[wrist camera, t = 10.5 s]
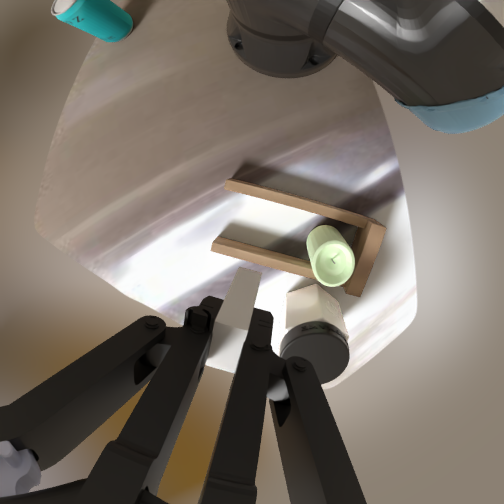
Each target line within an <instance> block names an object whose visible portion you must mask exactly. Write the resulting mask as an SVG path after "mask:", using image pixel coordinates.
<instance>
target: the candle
mask: <svg viewBox="0 0 504 504" xmlns="http://www.w3.org/2000/svg"><path fill="white" fill-rule="evenodd" d="M306 244H307V250H308V254H309V258H310V262H311V266H312V270H313V273H314V275H315V277H316V278H317V280H318V281H319V282H320V283H322V284H323V285H326V286H330V287H335V286H339V285H341V284H343V283H345V282H346V281H347V280H348V279H349V278H350V276H351V275H352V273H353V270H354V266H355V257H354V254H353V251H352V250H351V248H350V247H349V245H348V244H347V242H346V241H345V240H344V238H343V237H342V235H341V234H340V232H339V231H338V230H337V229H336V228H335V227H332V226H329V225H321V226H318V227H316V228H315V229H313V230H312V231H311V232H310V234H309V235H308V238H307V242H306Z"/></svg>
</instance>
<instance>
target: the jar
mask: <svg viewBox="0 0 504 504" xmlns="http://www.w3.org/2000/svg"><path fill="white" fill-rule="evenodd" d="M348 338H349V335H348V332H347V329H346V325H345V322H344V319H343V316H342V312H341V309H340V306H339V303H338V301H337V300H336V299H335V298H333V297H332V296H331V295H330V294H329V293H327V292H326V291H325V290H324V289H322V288H321V287H320V286H319V285H317V284H313V285H310V286H307V287H304V288H301V289H298V290H295V291H292V292H289V293H287V294H286V297H285V301H284V306H283V311H282V315H281V322H280V337H279V352H278V356H279V357H281V358H283V359H285V360H287V359H288V358H290V357H292V356H298V357H303V358H305V359H307V360H308V361H309V362H311V363H312V365H313V367H314V369H315V372H316V374H317V377H318V379H319V382H320V384H325V383H327V382H330V381H332V380H334V379H335V378H337V377H338V376H339V375H340V374H341V373H342V372H343V371H344V370H345V369H346V367H347V365H348V362H349V347H348V343H347V341H348Z"/></svg>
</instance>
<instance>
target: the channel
mask: <svg viewBox="0 0 504 504" xmlns="http://www.w3.org/2000/svg"><path fill="white" fill-rule="evenodd" d="M224 189H226V190H230V191H234V192H238V193H242V194H246V195H250V196H254V197H258V198H261V199H265V200H269V201H273V202H276V203H280V204H284V205H287V206H291V207H294V208H298V209H302V210H305V211H308V212H312V213H315V214H319V215H322V216H326V217H329V218H332V219H335V220H339V221H342V222H345V223H348V224H352V225H355V226H358V228H357V231H356V234H355V237H354V240H353V243H352V246H351V250H352V251H353V254H354V257H355V266H354V270H353V273H352V275H351V276H350V278H349V279H348V280H347V281H346V282H345V283H343V284H341V285H339V286H342V287H344V290H345V292H346V294H349V295H353V296H357V297H360V296H361V294H362V291H363V289H364V286H365V284H366V282H367V279H368V277H369V274H370V272H371V269H372V267H373V264H374V261H375V259H376V256H377V254H378V251H379V248H380V245H381V243H382V240H383V237H384V234H385V231H386V227H384V226H383V225H382V224H380V223H379V222H378V221H376V220H375V219H372V218H369V217H366V216H363V215H360V214H357V213H354V212H351V211H348V210H344V209H341V208H338V207H335V206H332V205H328V204H325V203H322V202H318V201H315V200H312V199H308V198H305V197H301V196H298V195H294V194H291V193H287V192H283V191H280V190H276V189H272V188H268V187H264V186H261V185H257V184H253V183H249V182H245V181H241V180H237V179H232V178H230V179H227V180H226V183H225V187H224ZM211 251H213V252H216V253H220V254H223V255H227V256H231V257H234V258H238V259H242V260H245V261H249V262H252V263H256V264H260V265H263V266H267V267H271V268H275V269H278V270H282V271H286V272H289V273H293V274H297V275H300V276H304V277H308V278H312V279H315V280H317V278H316V277H315V275H314V273H313V270H312V266H311V262H310V261H307V260H303V259H300V258H296V257H292V256H289V255H285V254H281V253H278V252H274V251H270V250H267V249H263V248H259V247H256V246H252V245H248V244H245V243H241V242H237V241H233V240H230V239H226V238H222V237H219V236H218V237H217V238H216V239H215V240H214V241H213V243H212V247H211Z"/></svg>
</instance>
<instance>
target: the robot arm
mask: <svg viewBox="0 0 504 504" xmlns="http://www.w3.org/2000/svg"><path fill="white" fill-rule="evenodd" d="M226 1H227V3H228V5H229V7H230V14H229V17H228V21H227V35H228V39H229V42H230V44H231V46H232V48H233V50H234V52H235V54H236V55H237V56H238V58H239V59H240V60H241V61H242V62H243V63H244V64H246V65H247V66H248V67H250V68H252V69H253V70H255V71H257V72H259V73H262V74H265V75H268V76H272V77H278V78H298V77H304V76H308V75H311V74H314V73H316V72H318V71H320V70H322V69H323V68H325V67H326V66H327V65H329V64H330V63H331V62H332V60H333V59H334V58H335V56H336V55H339V56H340V57H342V58H343V59H345V60H346V61H348V62H349V63H351V64H352V65H353V66H355V67H356V68H358V69H359V70H360V71H362V72H363V73H364V74H366V75H367V76H368V77H370V78H371V79H372V80H374V81H375V82H376V83H377V84H379V85H380V86H381V87H382V88H383V89H385V90H386V91H387V92H388V93H390V94H391V95H392V96H393V97H394V98H395V101H396V102H397V103H398V104H399V105H401V106H402V107H404V108H407V109H409V110H410V111H411V112H412V113H413V114H415V115H416V116H417V117H418V118H419V119H420V120H421V121H423V123H425V124H426V125H427V126H428V127H430V128H432V129H433V130H437V131H441V132H444V133H450V134H455V133H464V132H469V131H473V130H475V129H478V128H481V127H483V126H485V125H488V124H490V123H491V122H493V121H495V120H497V119H498V118H500V117H501V116H502V115H504V0H226ZM261 275H262V273H260V272H257V271H253V270H249V269H246V268H242V267H239V268H238V271H237V273H236V275H235V277H234V280H233V282H232V284H231V286H230V288H229V291H228V293H227V295H226V297H225V299H224V300H222V299H219V298H216V297H212V296H208V297H206V298H204V299H203V300H202V302H201V303H200V305H199V306H193V307H189V308H188V309H187V310H186V312H185V319H184V325H183V327H178V328H177V327H166V323H165V322H164V321H163V320H162V319H161V318H159V317H156V316H144V317H142V318H140V319H138V320H137V321H135V322H134V323H132V324H131V325H129V326H128V327H126V328H124V329H123V330H121V331H120V332H118V333H117V334H115V335H114V336H112V337H111V338H109V339H108V340H106V341H105V342H103V343H102V344H100V345H98V346H97V347H95V348H94V349H92V350H91V351H89V352H88V353H86V354H85V355H83V356H82V357H80V358H79V359H78V360H76V361H74V362H73V363H71V364H70V365H68V366H67V367H65V368H64V369H62V370H61V371H59V372H58V373H56V374H55V375H53V376H52V377H50V378H49V379H47V380H46V381H44V382H43V383H41V384H40V385H38V386H37V387H35V388H34V389H32V390H31V391H29V392H28V393H26V394H25V395H23V396H22V397H20V398H19V399H17V400H16V401H14V402H13V403H11V404H10V405H7V406H2V407H0V504H168V503H166V502H164V501H163V500H161V499H160V498H158V497H156V495H157V492H158V488H159V484H160V481H161V478H162V476H163V473H164V471H165V468H166V465H167V463H168V460H169V458H170V455H171V453H172V450H173V448H174V445H175V443H176V440H177V437H178V435H179V432H180V430H181V427H182V425H183V422H184V420H185V417H186V415H187V412H188V409H189V407H190V405H191V402H192V399H193V397H194V394H195V392H196V389H197V387H198V384H199V382H200V379H201V377H202V374H203V371H204V366H205V363H206V365H208V366H211V367H214V368H218V369H221V370H225V371H228V372H232V373H235V374H234V377H233V381H232V384H231V387H230V392H229V395H228V399H227V403H226V407H225V410H224V413H223V417H222V421H221V424H220V428H219V432H218V435H217V439H216V442H215V446H214V450H213V453H212V457H211V460H210V464H209V467H208V470H207V474H206V477H205V481H204V484H203V488H202V491H201V495H200V498H199V501H198V504H255V503H256V497H257V487H256V486H255V477H256V470H257V464H258V457H259V450H260V443H261V435H262V429H263V422H264V414H265V406H266V398H267V397H268V398H269V403H270V408H271V413H272V418H273V423H274V427H275V432H276V436H277V442H278V447H279V451H280V456H281V460H282V465H283V470H284V474H285V479H286V484H287V489H288V493H289V497H290V502H291V504H367V503H366V501H365V498H364V495H363V492H362V490H361V487H360V484H359V482H358V479H357V476H356V474H355V471H354V469H353V466H352V463H351V461H350V458H349V456H348V453H347V450H346V448H345V445H344V443H343V440H342V437H341V435H340V432H339V430H338V427H337V425H336V422H335V419H334V417H333V414H332V412H331V409H330V407H329V404H328V402H327V399H326V397H325V394H324V392H323V389H322V387H321V384H320V382H319V379H318V377H317V374H316V372H315V369H314V367H313V365H312V363H311V362H309V361H308V360H307V359H305V358H303V357H298V356H292V357H290V358H288V359H287V360H285V359H283V358H281V357H279V356H278V355H276V354H275V353H274V352H273V350H272V346H271V337H272V328H273V319H274V318H273V316H272V314H271V312H268V311H264V310H261V309H257V308H254V304H255V300H256V296H257V292H258V287H259V283H260V279H261ZM150 380H151V381H150ZM149 381H150V382H149ZM148 382H149V384H148V386H147V388H146V389H145V391H144V393H143V394H142V396H141V398H140V400H139V402H138V403H137V405H136V406H135V408H134V410H133V412H132V413H131V415H130V417H129V419H128V420H127V422H126V424H125V426H124V427H123V429H122V431H121V433H120V434H119V437H118V438H117V439H116V440H115V441H110V442H109V443H108V444H107V445H106V447H105V448H104V450H103V451H102V453H101V455H100V457H99V458H98V460H97V462H96V464H95V465H94V467H93V469H92V471H91V473H90V474H89V476H88V478H86V479H81V480H77V481H74V482H71V483H67V484H63V485H60V486H56V487H52V488H48V489H44V490H39V491H35V492H30V493H28V492H29V490H30V489H31V488H32V487H34V486H37V485H39V484H40V479H41V471H43V470H45V469H47V468H49V467H51V466H53V465H55V464H56V463H57V462H59V461H60V460H61V459H63V458H64V457H65V456H66V455H67V454H69V453H70V452H71V451H72V450H73V449H74V448H76V447H77V446H78V445H79V444H80V443H81V442H82V441H84V440H85V439H86V438H87V437H88V436H89V435H90V434H92V432H94V431H95V430H96V429H97V428H98V427H99V426H100V425H102V424H103V423H104V422H105V421H106V420H107V419H108V418H109V417H111V416H112V415H113V414H114V413H115V412H116V411H117V410H118V409H119V408H121V407H122V406H123V405H124V404H125V403H126V402H127V401H128V400H129V399H130V398H131V397H132V396H134V395H135V394H136V393H137V392H138V391H139V390H140V389H141V388H143V387H144V386H145V385H146V384H147V383H148Z"/></svg>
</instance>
